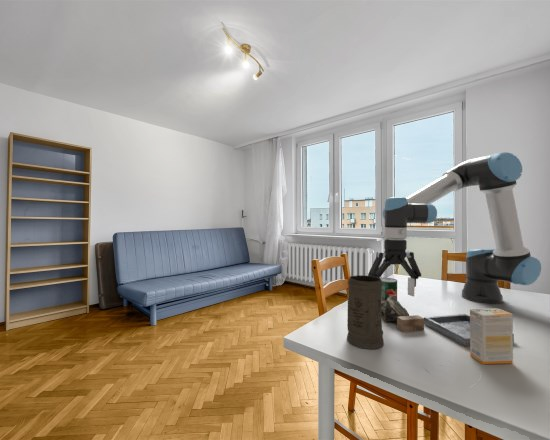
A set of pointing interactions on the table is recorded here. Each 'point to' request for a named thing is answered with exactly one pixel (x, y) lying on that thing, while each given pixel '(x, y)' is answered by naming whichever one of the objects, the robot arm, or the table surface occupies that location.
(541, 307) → the table surface
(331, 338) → the table surface
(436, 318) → the dish
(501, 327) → the supplement box
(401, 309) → the fossil
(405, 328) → the cradle
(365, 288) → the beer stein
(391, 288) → the canned tomato
